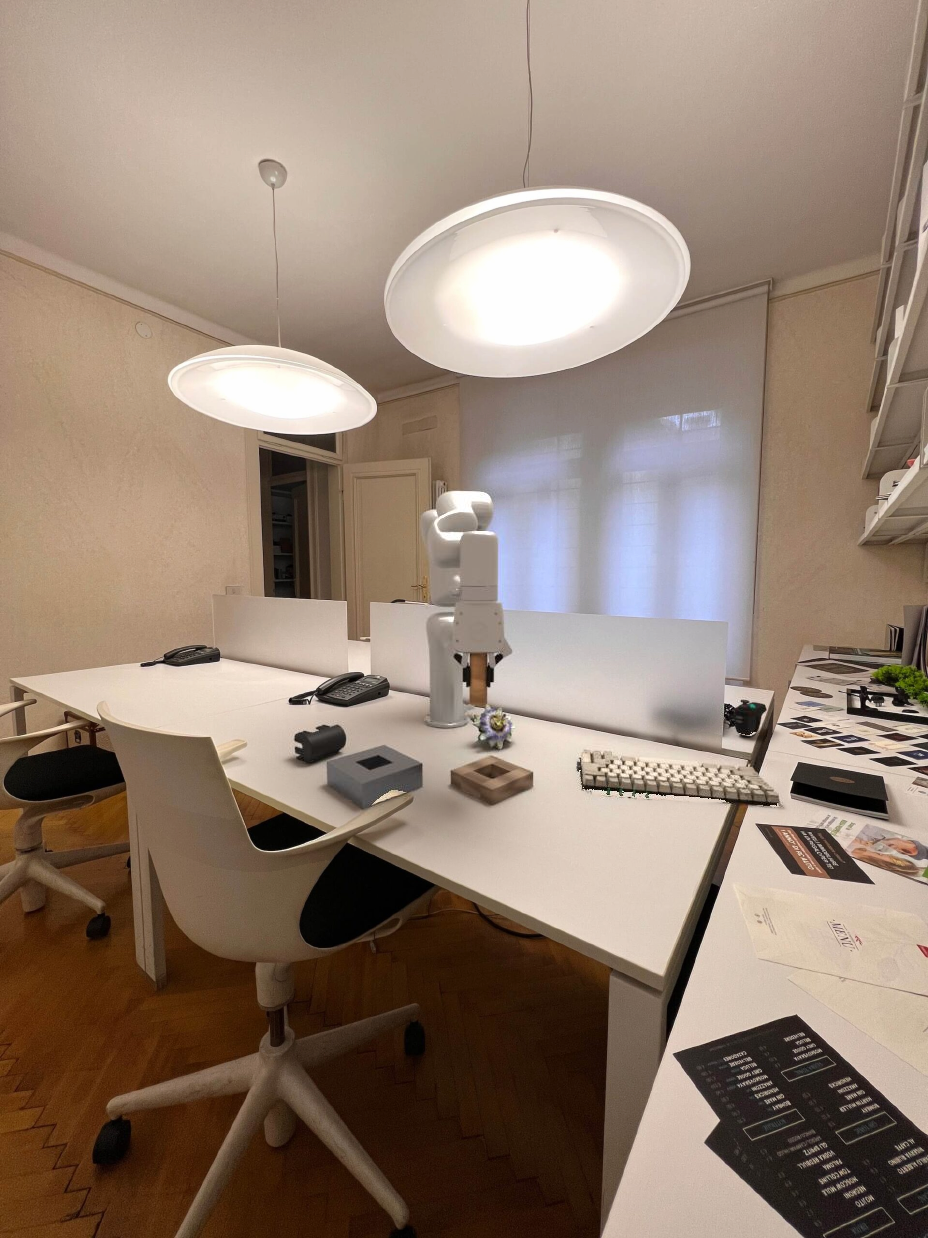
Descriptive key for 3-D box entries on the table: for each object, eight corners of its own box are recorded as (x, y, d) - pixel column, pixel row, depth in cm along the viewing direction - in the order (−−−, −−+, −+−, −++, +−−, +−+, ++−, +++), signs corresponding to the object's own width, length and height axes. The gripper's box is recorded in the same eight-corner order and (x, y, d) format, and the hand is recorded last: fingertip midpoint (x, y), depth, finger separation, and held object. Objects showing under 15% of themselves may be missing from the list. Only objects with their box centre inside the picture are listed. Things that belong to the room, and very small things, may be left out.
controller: (729, 737, 131) (731, 700, 130) (750, 728, 139) (752, 693, 137) (746, 742, 128) (749, 704, 127) (767, 732, 135) (769, 696, 134)
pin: (478, 699, 104) (478, 647, 102) (490, 703, 101) (491, 649, 100) (465, 703, 101) (465, 649, 100) (478, 707, 99) (478, 652, 97)
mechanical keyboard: (749, 772, 111) (750, 757, 111) (787, 815, 92) (788, 798, 92) (575, 760, 118) (575, 747, 118) (578, 798, 99) (578, 782, 99)
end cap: (312, 767, 112) (311, 738, 112) (293, 760, 116) (292, 732, 116) (347, 753, 120) (346, 726, 119) (328, 747, 124) (327, 721, 124)
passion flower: (498, 769, 124) (483, 740, 117) (470, 749, 132) (455, 720, 125) (528, 737, 128) (515, 707, 122) (499, 720, 136) (485, 690, 130)
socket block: (384, 766, 113) (384, 744, 112) (422, 786, 102) (422, 763, 102) (327, 784, 103) (326, 761, 103) (362, 809, 93) (362, 783, 92)
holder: (491, 768, 112) (491, 755, 111) (533, 786, 103) (533, 772, 102) (450, 784, 104) (450, 770, 103) (492, 805, 95) (492, 789, 94)
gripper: (435, 596, 95) (435, 690, 97) (522, 596, 95) (521, 691, 97) (438, 593, 103) (438, 681, 105) (519, 593, 102) (518, 681, 104)
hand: (478, 684), depth 101 cm, fingers closed on pin, 3 cm apart
